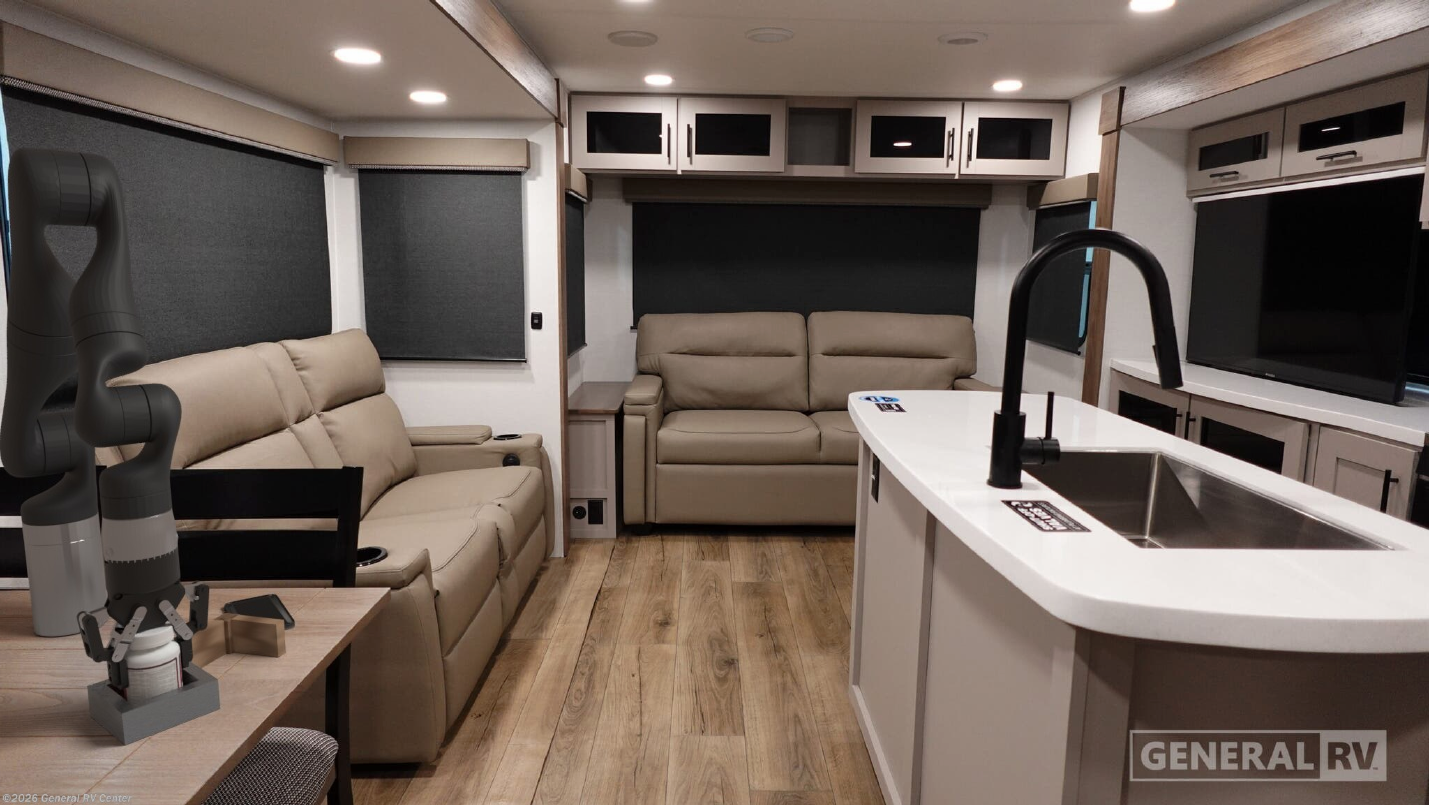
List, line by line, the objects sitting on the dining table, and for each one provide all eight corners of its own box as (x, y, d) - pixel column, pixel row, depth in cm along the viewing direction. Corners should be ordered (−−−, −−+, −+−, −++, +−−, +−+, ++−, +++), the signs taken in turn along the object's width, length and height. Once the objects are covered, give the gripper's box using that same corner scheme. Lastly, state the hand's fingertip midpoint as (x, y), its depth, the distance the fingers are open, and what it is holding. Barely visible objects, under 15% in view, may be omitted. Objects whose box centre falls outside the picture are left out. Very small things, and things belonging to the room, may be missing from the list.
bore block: (90, 715, 106) (87, 686, 105) (183, 683, 114) (180, 655, 113) (124, 745, 99) (121, 713, 99) (220, 708, 108) (218, 679, 107)
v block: (287, 655, 123) (284, 622, 122) (176, 679, 115) (173, 644, 114) (279, 634, 129) (277, 603, 128) (173, 655, 122) (170, 622, 121)
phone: (275, 592, 143) (296, 622, 132) (275, 599, 144) (296, 629, 132) (222, 603, 139) (239, 635, 127) (222, 610, 139) (239, 642, 127)
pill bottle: (143, 700, 109) (136, 617, 108) (194, 699, 110) (187, 616, 108) (115, 726, 103) (106, 638, 102) (168, 724, 104) (161, 637, 102)
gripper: (191, 527, 111) (200, 648, 114) (58, 556, 100) (72, 689, 102) (217, 539, 107) (227, 664, 110) (82, 571, 95) (96, 709, 98)
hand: (152, 676), depth 106 cm, fingers closed on pill bottle, 6 cm apart
